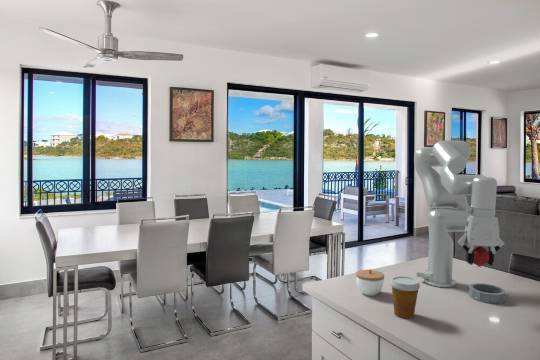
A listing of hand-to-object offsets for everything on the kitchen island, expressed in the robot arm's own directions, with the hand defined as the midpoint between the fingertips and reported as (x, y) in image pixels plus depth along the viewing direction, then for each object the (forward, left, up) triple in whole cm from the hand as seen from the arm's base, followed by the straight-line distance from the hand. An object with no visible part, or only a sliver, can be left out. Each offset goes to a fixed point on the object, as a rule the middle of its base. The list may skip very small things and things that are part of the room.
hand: (479, 263), depth 138 cm
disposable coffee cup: (-27, -6, -17) cm, 32 cm away
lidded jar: (-35, +14, -17) cm, 41 cm away
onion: (0, 0, -1) cm, 1 cm away
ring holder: (+9, +13, -17) cm, 23 cm away
